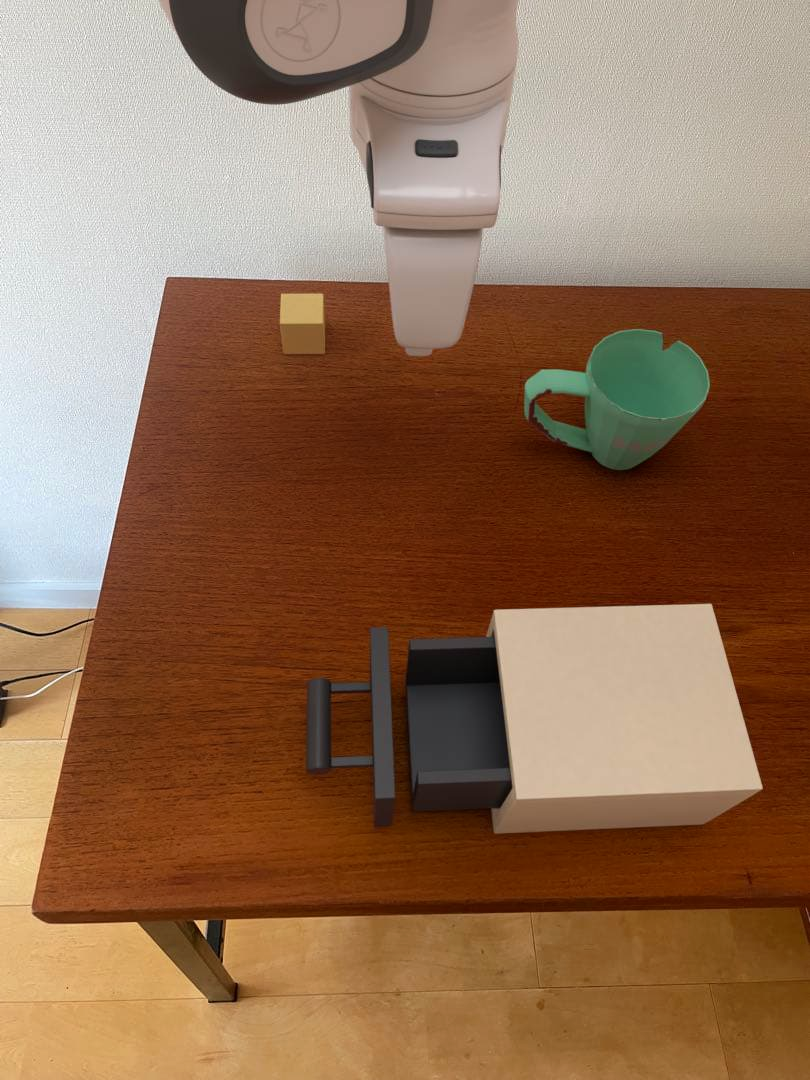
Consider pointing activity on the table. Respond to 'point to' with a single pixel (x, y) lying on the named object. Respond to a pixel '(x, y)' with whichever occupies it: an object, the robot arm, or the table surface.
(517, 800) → the beige cabinet housing
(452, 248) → the robot arm
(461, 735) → the drawer
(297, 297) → the block
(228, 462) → the table surface
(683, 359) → the mug
